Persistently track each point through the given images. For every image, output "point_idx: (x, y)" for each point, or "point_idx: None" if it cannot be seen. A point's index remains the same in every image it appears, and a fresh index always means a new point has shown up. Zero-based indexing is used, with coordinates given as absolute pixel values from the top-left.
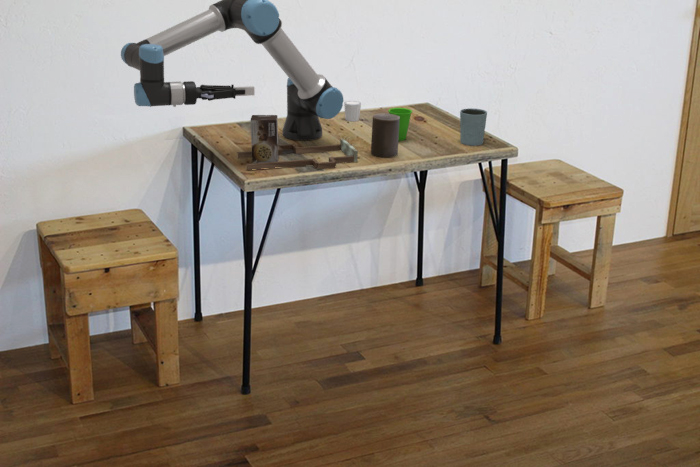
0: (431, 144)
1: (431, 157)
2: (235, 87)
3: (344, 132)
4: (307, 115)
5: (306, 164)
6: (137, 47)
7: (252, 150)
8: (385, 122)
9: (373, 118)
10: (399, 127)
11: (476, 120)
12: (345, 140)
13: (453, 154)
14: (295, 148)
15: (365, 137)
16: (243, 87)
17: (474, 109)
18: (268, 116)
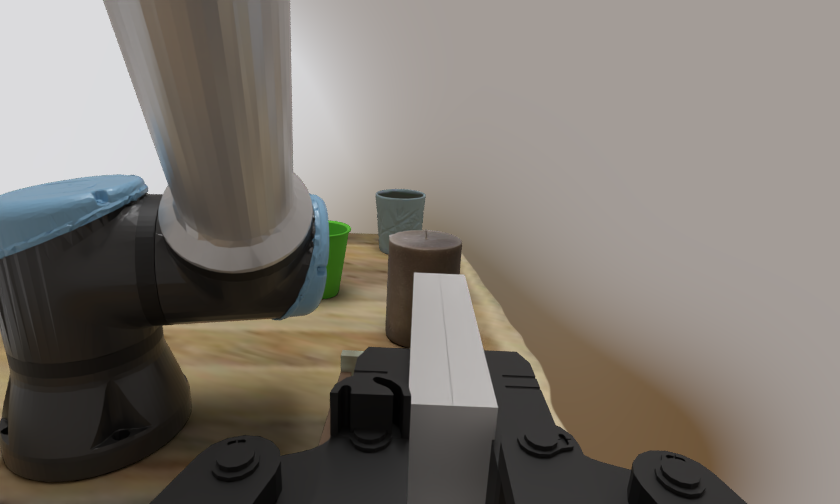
0: (386, 275)
1: (472, 294)
2: (455, 397)
3: (188, 339)
4: (155, 340)
5: None
6: None
7: None
8: (459, 251)
9: (423, 253)
10: (340, 265)
11: (423, 206)
12: (363, 351)
13: (461, 274)
14: None
15: (268, 323)
16: (465, 330)
17: (381, 192)
18: None
